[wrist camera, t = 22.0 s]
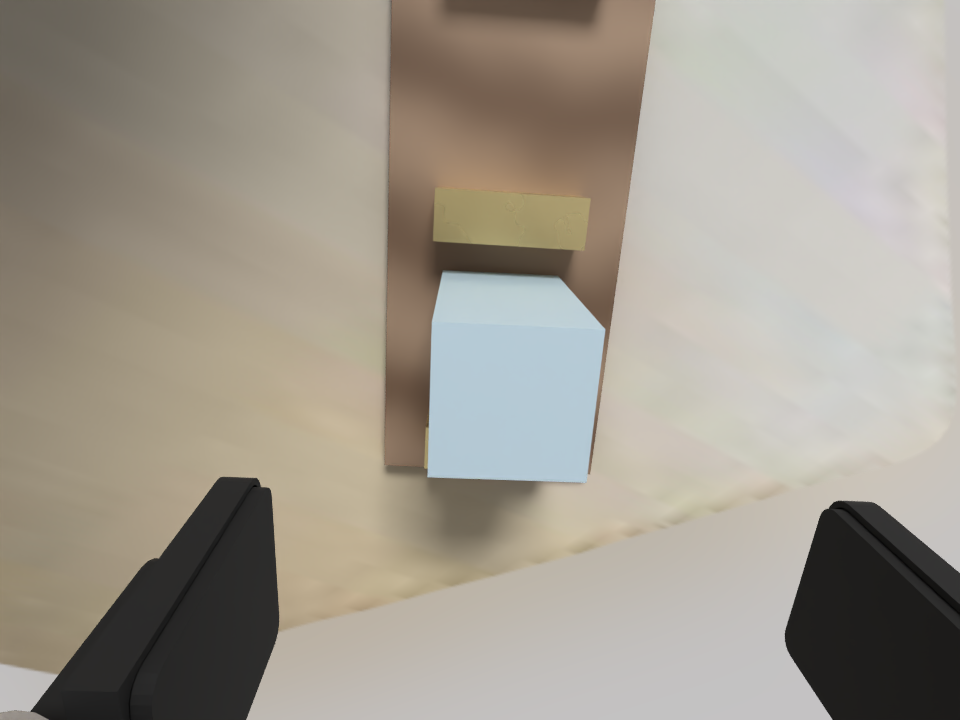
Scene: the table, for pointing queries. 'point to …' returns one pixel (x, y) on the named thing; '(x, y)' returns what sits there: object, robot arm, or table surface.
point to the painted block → (512, 378)
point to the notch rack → (504, 165)
